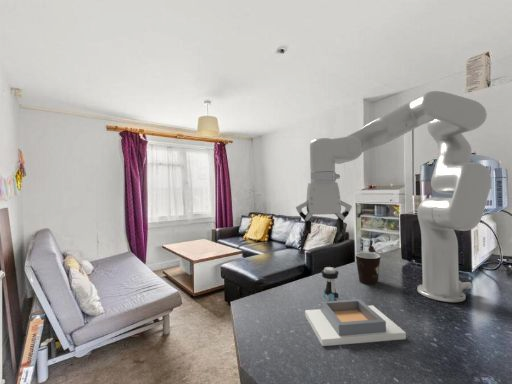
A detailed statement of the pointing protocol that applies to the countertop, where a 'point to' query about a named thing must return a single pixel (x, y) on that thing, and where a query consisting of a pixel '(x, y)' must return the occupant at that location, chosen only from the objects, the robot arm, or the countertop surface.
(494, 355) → the countertop surface
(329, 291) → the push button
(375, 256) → the coffee mug
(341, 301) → the dock board
